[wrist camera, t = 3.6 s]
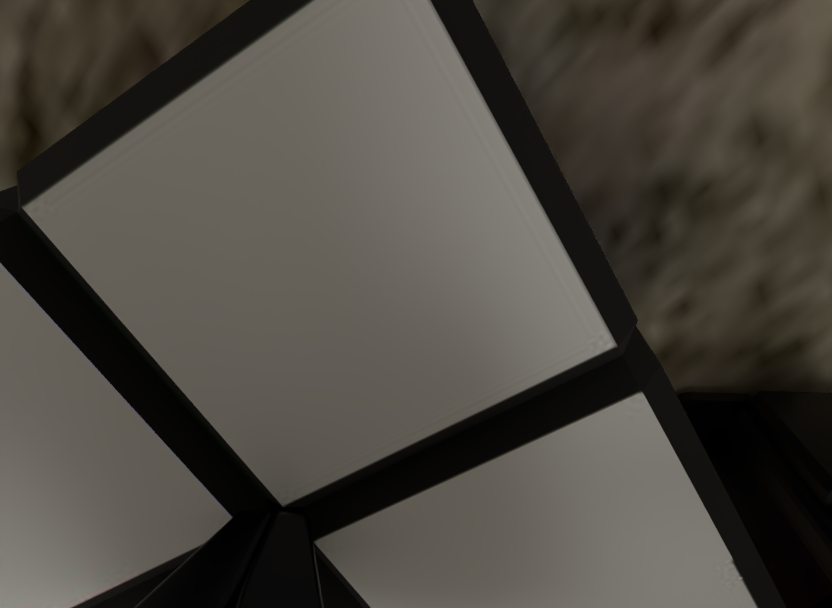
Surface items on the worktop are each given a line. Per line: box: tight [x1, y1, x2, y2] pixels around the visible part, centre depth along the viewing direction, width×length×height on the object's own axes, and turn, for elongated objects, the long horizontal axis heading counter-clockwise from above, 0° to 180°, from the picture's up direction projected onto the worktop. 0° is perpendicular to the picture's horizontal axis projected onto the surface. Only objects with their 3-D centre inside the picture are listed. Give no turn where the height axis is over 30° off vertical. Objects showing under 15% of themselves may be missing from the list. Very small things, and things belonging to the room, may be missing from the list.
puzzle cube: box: [0, 0, 787, 608], centre depth 12 cm, size 10×10×10 cm
